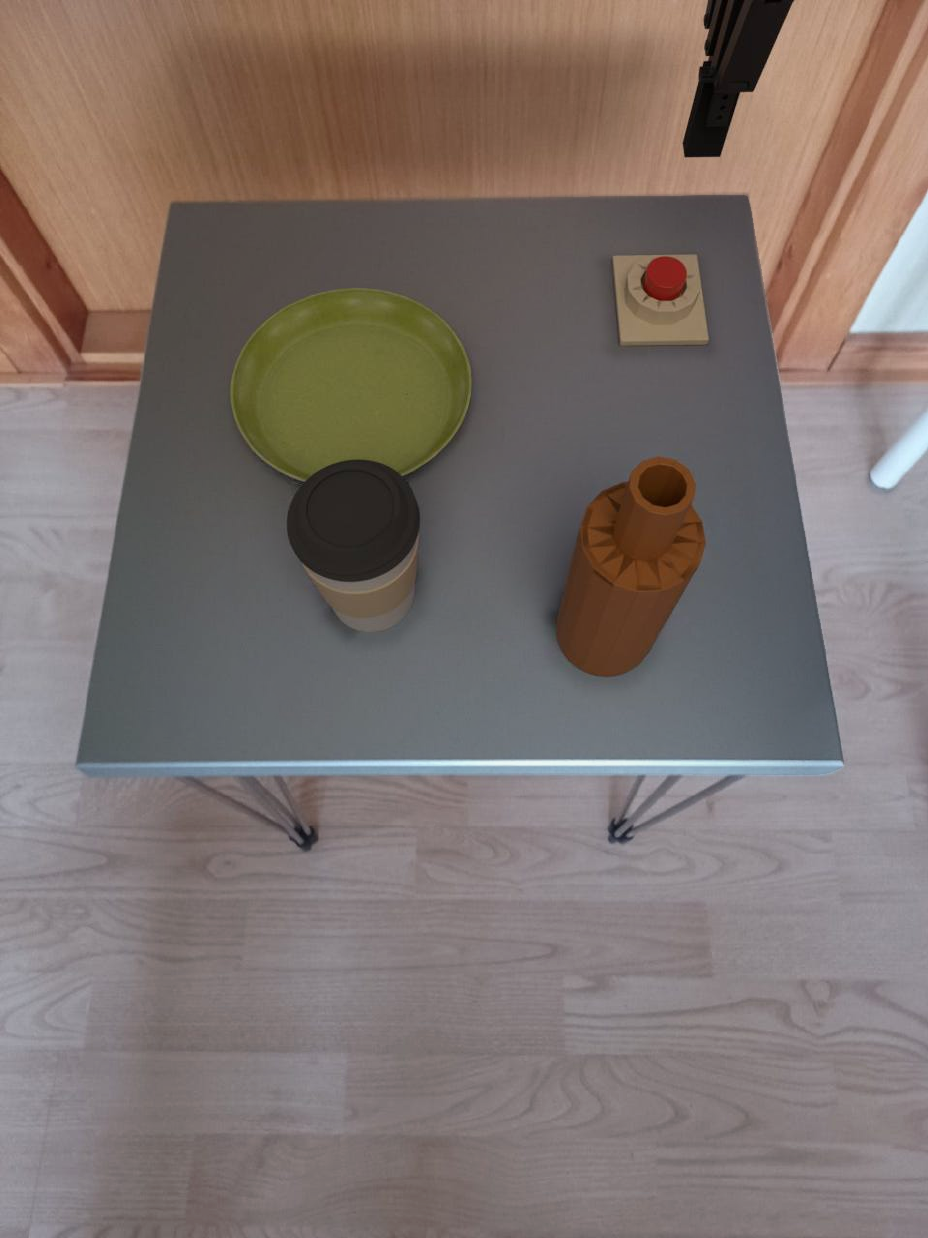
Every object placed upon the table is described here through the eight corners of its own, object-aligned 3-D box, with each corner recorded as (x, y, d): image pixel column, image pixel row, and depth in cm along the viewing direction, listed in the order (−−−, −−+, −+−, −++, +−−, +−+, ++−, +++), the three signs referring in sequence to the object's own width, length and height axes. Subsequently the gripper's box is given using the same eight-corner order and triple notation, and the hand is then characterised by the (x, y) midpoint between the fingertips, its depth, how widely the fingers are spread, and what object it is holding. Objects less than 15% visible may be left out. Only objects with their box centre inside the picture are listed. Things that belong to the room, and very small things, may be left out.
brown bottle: (671, 628, 69) (759, 480, 48) (610, 696, 67) (675, 574, 46) (597, 570, 71) (650, 403, 50) (536, 634, 69) (565, 489, 48)
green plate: (464, 512, 73) (463, 493, 70) (221, 500, 74) (211, 480, 71) (477, 315, 81) (478, 290, 78) (257, 305, 81) (249, 280, 78)
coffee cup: (294, 589, 71) (251, 499, 57) (379, 522, 73) (357, 419, 59) (366, 667, 68) (338, 593, 54) (451, 596, 70) (446, 506, 56)
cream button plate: (707, 344, 79) (714, 326, 77) (619, 346, 79) (623, 327, 77) (695, 259, 83) (701, 239, 81) (611, 260, 83) (615, 240, 81)
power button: (684, 300, 79) (689, 287, 77) (644, 301, 79) (648, 287, 77) (680, 269, 80) (685, 255, 78) (641, 270, 80) (645, 256, 78)
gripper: (726, -323, 46) (644, 89, 68) (758, -177, 42) (659, 216, 64) (867, -326, 46) (740, 88, 68) (915, -180, 42) (762, 214, 64)
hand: (701, 149), depth 66 cm, fingers closed
